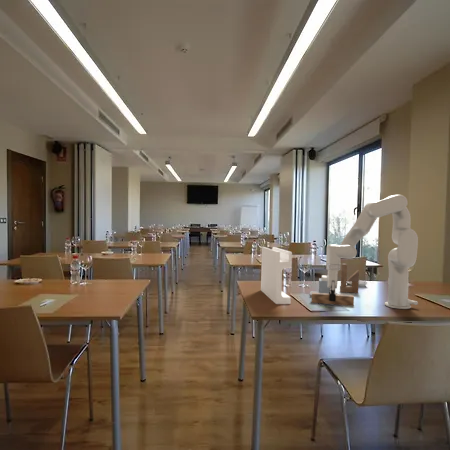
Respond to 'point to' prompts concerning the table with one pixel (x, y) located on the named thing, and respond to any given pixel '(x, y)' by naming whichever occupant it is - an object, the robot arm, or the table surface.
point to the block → (274, 273)
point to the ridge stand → (322, 286)
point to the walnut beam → (339, 301)
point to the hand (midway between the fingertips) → (332, 299)
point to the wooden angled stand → (352, 278)
